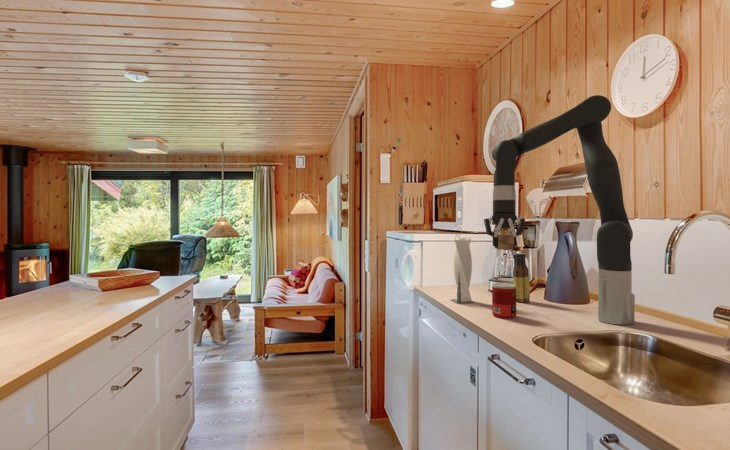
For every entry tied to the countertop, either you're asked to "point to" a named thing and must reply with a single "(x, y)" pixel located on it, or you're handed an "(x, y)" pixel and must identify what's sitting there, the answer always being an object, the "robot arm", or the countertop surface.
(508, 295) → the canned food
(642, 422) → the countertop surface
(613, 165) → the robot arm
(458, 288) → the skyscraper
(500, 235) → the walnut cube
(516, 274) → the sauce bottle
